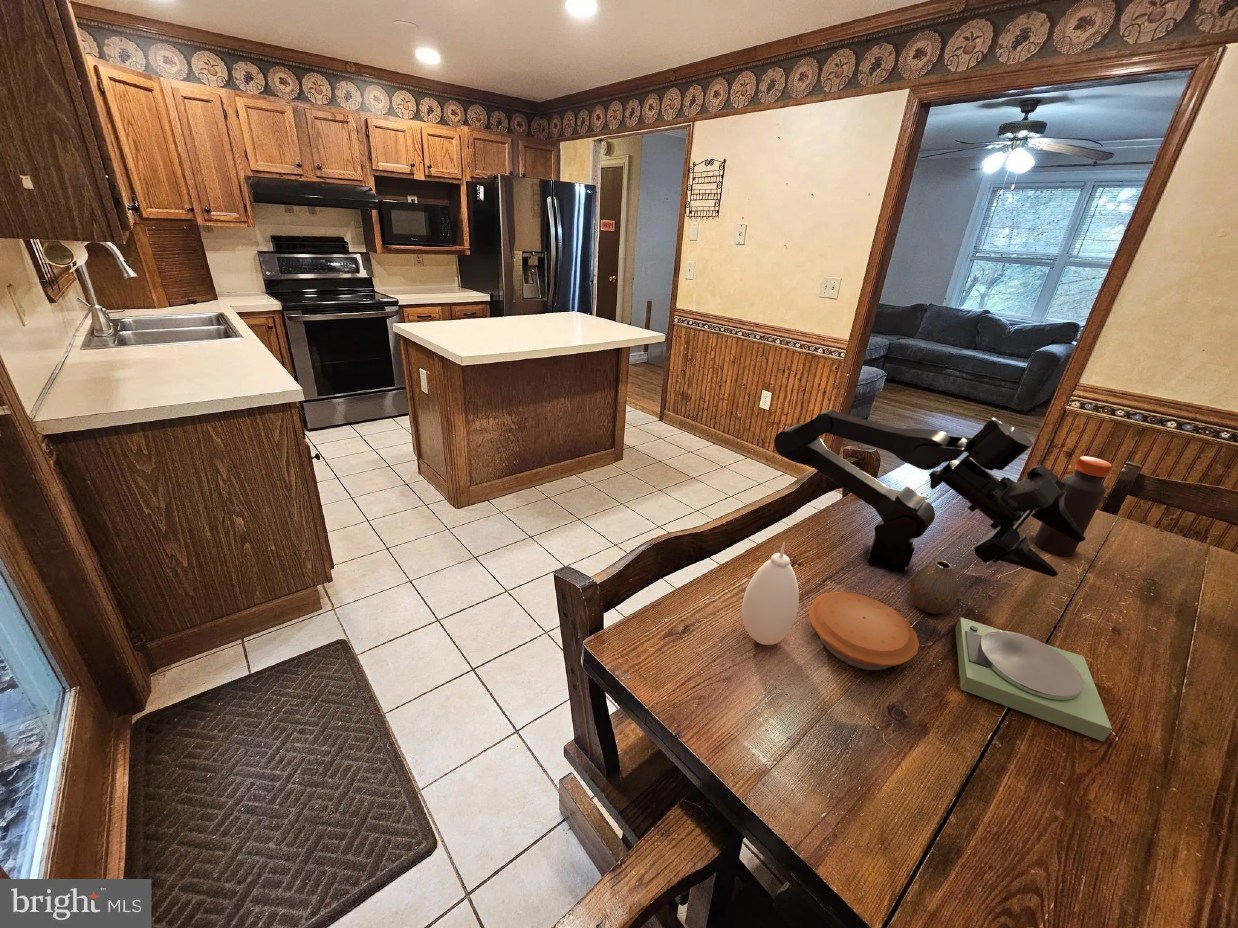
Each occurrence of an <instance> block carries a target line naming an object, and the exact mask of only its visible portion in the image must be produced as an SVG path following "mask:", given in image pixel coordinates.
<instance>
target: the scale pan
mask: <svg viewBox="0 0 1238 928" xmlns="http://www.w3.org/2000/svg"><path fill="white" fill-rule="evenodd" d="M1048 645H1049V644H1046V643H1044V642H1042V641H1040V640H1038V639H1035V638H1033V637H1031V636H1028V635H1025V634H1022V633H1018V632H1015V631H1008V630H1002V631H992V632H989V633H987V634H985V635H984V636H983V637H982V639H981V641H980V644H979V649H980V653H981V655H982V657H983V658H984V660H985V661H986V662H987V664H988V665H989V666H990V667H991V668H992V669H993V670H994V671H995V672H996V673H998V674H999V675H1000V676H1001V677H1003V678H1004V679H1006V680H1007V681H1009V682H1010V683H1012V684H1013V685H1015V686H1017V687H1019V688H1021V689H1023V690H1025V691H1027V692H1030V693H1032V694H1035V695H1038V696H1041V697H1045V698H1049V699H1055V700H1068V699H1072V698H1075V697H1076V696H1078V695H1079V693H1080V692H1081V690H1082V688H1083V679H1082V677H1081V675H1080V673H1079V671H1078V670H1077V669H1076V667H1075V666H1074V665H1073V664H1072V663H1071V662H1070V661H1069V660H1068V659H1066V658H1065V657H1064V656H1063V655H1061V654H1060V653H1059V652H1057V651H1056V650H1054V649H1053V648H1051V647H1049V646H1050V645H1049V646H1048Z"/></svg>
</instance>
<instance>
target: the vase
mask: <svg viewBox="0 0 1238 928" xmlns="http://www.w3.org/2000/svg"><path fill="white" fill-rule="evenodd" d="M909 595H910V598H911V601H912V602H913V603H914V605H915V606H916V607H917V608H918V609H920V610H921V611H923V612H925V613H929V614H935V615H936V614H941V613H944V612H947V611H948V610H950V609H951V608H952V607H953V606H954V605H955V603H956V601H957V599H958V596H959V581H958V580H957V578H956V576H955V574H954V571H953V567H952V565H951V564H950V563H949V562H947V561H944V560H939V559H938V560H936V561H934V562H933V563H931V564H928V565H926V566H924V567H922V568H920V569H919V570H917V572H915V574H914V575H913V576H912V578H911V581H910V584H909Z"/></svg>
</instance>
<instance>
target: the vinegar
mask: <svg viewBox="0 0 1238 928" xmlns="http://www.w3.org/2000/svg"><path fill="white" fill-rule="evenodd" d="M1112 467H1113V465H1112V464H1111V463H1110V462H1108V461H1106V460H1104V459H1100V458H1098V457H1093V456H1080V457H1078V460H1077V462H1076V464H1075V466H1074V469H1073V470H1074V473H1073V474H1070V475H1067V476H1065V477H1063V478H1062V480H1061V482H1062V483H1064V484H1065V485H1066V486H1065V487H1064V488H1063V490H1062V491H1061V492H1063V491H1065V492H1066V495H1065V497H1064V507H1065V509H1066V510H1067V512H1068V514H1069V515H1070V517H1071V518H1072V520H1073V521H1074V522H1075V524H1076V525H1077V527H1078V528H1079V530H1080V531H1081V532H1082V534H1083V535H1084V534H1085V533H1086V531H1087V529H1088V527H1089V525H1090V523H1091V521H1092V520H1093V517H1094V516H1095V514H1096V512H1097V510H1098V508H1099V506H1100V504H1101V502H1102V500H1103V499H1104V496H1105V495H1106V492H1107V488H1106V486H1105V485H1104V483H1103V482H1102V481H1103V480H1106V478H1107V476H1108V475H1109V473H1110V472H1111V469H1112ZM1084 536H1085V535H1084ZM1033 541H1034V544H1035V545H1036V546H1037V547H1039V548H1040V549H1042V550H1043V551H1045V552H1048V553H1050V554H1054V555H1057V556H1063V557H1069V556H1072V555H1074V554H1075V552H1076V550H1077V549H1078V546H1079V545H1080V543H1081V542H1078V541H1076V540H1074V539H1071V538H1069V537H1067V536H1066V535H1064V534H1062V533H1060V532H1058V531H1057V530H1055V529H1053V528H1051V527H1050V526H1048V525H1046V524H1044V523H1042V522H1041V524H1040V526H1039V528H1038V530H1037V532H1036V535H1035V536H1034V539H1033Z"/></svg>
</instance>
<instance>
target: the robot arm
mask: <svg viewBox="0 0 1238 928" xmlns="http://www.w3.org/2000/svg"><path fill="white" fill-rule="evenodd" d="M824 434H828V435H832V436H835V437H837V438H842V439H845V440H849V441H852V442H856V443H859V444H863V445H865V446H869V447H873V448H876V449H880V450H884V451H886V452H888V453H890V454H892V455H893V456H895V457H896V458H898V459H899V460H900V461H901V462H904V463H906V464H908V465H910V466H912V467H914V468H917V469H919V470H923V471H931V470H932V471H931V472H929V474H928V476H929V480H930V483H929V484H930V486H929V488H930V489H931V490H935V489H936V488H937V487H939V486H940V485H941V484H942V483H944V484H945V485H946V486H947V487H948V488H950V489H951V490H952V491H954V493H956V494H957V495H958V496H960V497H961V498H963V499H964V500H965V501H967V502H968V503H969V505H968V506H967V509H968V510H969V511H970V512H971V513H974V512H976V510H978V512H980V513H981V514H983V515H984V516H985V517H987V518H988V519H989V520H990V521H991V523H990V524H988V526H989V527H990V528H992V529H993V530H992V531H990V532H989V533H987V534H986V535H984V536H983V537H982V538H981V539H980V540H979V542H977V544H976V545H975V546H974V547H973V551H974V555H975V556H976V557H977V558H978V559H980V560H981V561H982V562H983V563H984V564H988V563H990V562H993V563H998V562H1003V563H1007V564H1011V565H1015V566H1018V567H1021V568H1025V569H1028V570H1031V571H1034V572H1037V573H1039V574H1043V575H1045V576H1048V577H1051V578H1054V577H1057V576H1058V575H1059V572H1058V571H1057V570H1056V568H1054V567H1053V566H1052V565H1051V564H1050V563H1049V562H1048V561H1047V560H1045V559H1044V558H1043V557H1042V556H1041V555H1039V554H1038V553H1037V552H1036V551H1035V550H1034V549H1032V548H1031V547H1030V543H1029V540H1028V537H1027V536H1025V537H1023V538H1022V537H1021V535H1020V532H1019V531H1018V530H1019V529H1020V528H1021V526H1022V525H1023V524H1024V523H1025V522H1026V521H1027V520H1028V518H1029V517H1032V518H1034V519H1035V520H1037V521H1038V522H1040V523H1041V524H1042V523H1044V524H1046V525H1048V526H1050V527H1051V528H1053V529H1055V530H1057V531H1058V532H1060V533H1062V534H1064V535H1066V536H1067V537H1069V538H1071V539H1074V540H1076V541H1078V542H1080V543H1082V542H1084V541H1086V537H1085V535H1083V534H1082V532H1081V531H1080V530H1079V528H1078V527H1077V525H1076V524H1075V522H1074V521H1073V520H1072V518H1071V517H1070V515H1069V514H1068V512H1067V510H1066V509H1065V507H1064V497H1065V495H1066V492H1065V491H1063V492H1061V491H1062V490H1063V488H1064V487H1065V486H1066V485H1065V484H1064V483H1062V480H1059V476H1058V474H1055V473H1054V472H1053V471H1052V470H1050V469H1049V468H1047V467H1045V466H1044V465H1042V464H1038V465H1035V466H1032V467H1031V468H1030V469H1029V470H1028V471H1027V473H1026V476H1025V477H1023V478H1022V480H1019V481H1014V480H1013V479H1012V478H1010V477H1006V476H1005V475H1004V476H1003V477H1001V478H1000V479H999V478H998V476H997V477H996V476H995V475H994V474H992V472H993V471H994V470H995V471H1003V470H1005V468H1007V467H1008V466H1010V464H1012V463H1013V462H1015V460H1017V459H1018V458H1019V457H1021V456H1022V455H1023V454H1024V453H1025V452H1026V451H1028V450H1029V449H1030V448H1031V447H1033V446H1034V445H1033V442H1032V440H1031V439H1030V438H1029V436H1028V435H1027V434H1026V433H1024V432H1023V431H1022V430H1020V429H1019V428H1018V427H1016V426H1012V425H1010V424H1008V423H1006V422H1002V421H999V420H998V419H997V418H995V417H991V418H990V419H989V420H988V421H987V422H986V423H985V424H984V425H983V426H982V428H981V429H980V430H979V431H977V433H975V435H974V436H972V437H968V436H967V437H966V436H954V435H949V434H948V433H947V432H945V431H942V430H939V429H929V428H920V427H919V428H918V427H917V428H916V427H915V428H902V427H896V426H891V425H889V424H884V423H880V422H876V421H873V420H869V419H865V418H861V417H857V416H853V415H850V414H846V413H842V412H839V411H837V410H835V409H828V410H825V411H823V412H821V413H819V414H817V415H815V417H813V419H810V420H809V421H807V422H805V423H804V424H803V423H797V424H794V425H791V426H789V427H788V428H785V429H783V430H781V431H779V432H777V434H776V435H775V437H774V440H773V445H774V451H775V452H776V453H777V454H778V456H780V457H782V458H783V459H786V460H789V461H791V462H793V463H795V464H799V465H804V466H808V467H811V468H813V469H814V470H816V471H818V472H819V473H820V474H822V475H823V476H825V477H827V478H828V479H829V480H831V481H832V482H834V483H836V484H837V485H838V486H840V487H842V488H843V489H844V490H846V491H847V492H848V493H850V494H852V495H853V496H855V497H856V498H858V499H859V500H861V501H862V502H864V503H865V504H867V505H868V506H870V507H872V508H873V509H874V510H875V511H876V513H877V514H878V516H879V518H880V519H881V520H880V521H879V522H878V523H877V524H875V526H874V527H873V529H874V530H873V531H874V537H873V540H872V543H871V545H870V546H869V549H868V556H867V563H868V564H869V565H873V566H877V567H879V568H884V569H886V570H891V571H893V572H896V573H899V574H905V573H906V568H908V567H909V566H910V563H911V561H912V558H913V555H914V552H915V542H914V540H915V539H918V538H920V537H922V536H923V535H924V534H925V532H927V530H928V529H929V528H930V526H931V525H932V524H933V523H934V521H935V519H936V512H935V508H934V506H933V505H932V503H930V502H929V501H927V500H929V497H927V496H924V495H921V494H919V493H918V492H916V491H915V490H914V489H913V488H911V487H910V486H908V485H907V486H905V487H904V488H903V489H901V490H898V489H893V488H891V487H888V486H887V485H885V484H884V483H882V482H881V481H879V480H877V479H876V478H874V477H873V476H871V475H869V474H868V473H867V472H865V471H863V470H862V469H860V468H858V467H857V466H856V465H854V464H852V463H851V462H849V461H847V460H846V459H845V458H843V457H842V456H840V455H838V453H837V454H836V453H835V452H833V451H832V450H830V449H829V448H827V447H826V444H824V442H823V440H822V439H821V438H820V436H823V435H824ZM964 453H967V454H966V455H965V456H964V457H963V458H962V459H960V460H958V459H959V458H960V457H961V456H962V455H964ZM943 463H946V464H945V465H944V466H943V467H942V468H941V469H940V470H935V469H936V468H938V467H940V466H941V465H942V464H943ZM990 471H991V472H990Z"/></svg>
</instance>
